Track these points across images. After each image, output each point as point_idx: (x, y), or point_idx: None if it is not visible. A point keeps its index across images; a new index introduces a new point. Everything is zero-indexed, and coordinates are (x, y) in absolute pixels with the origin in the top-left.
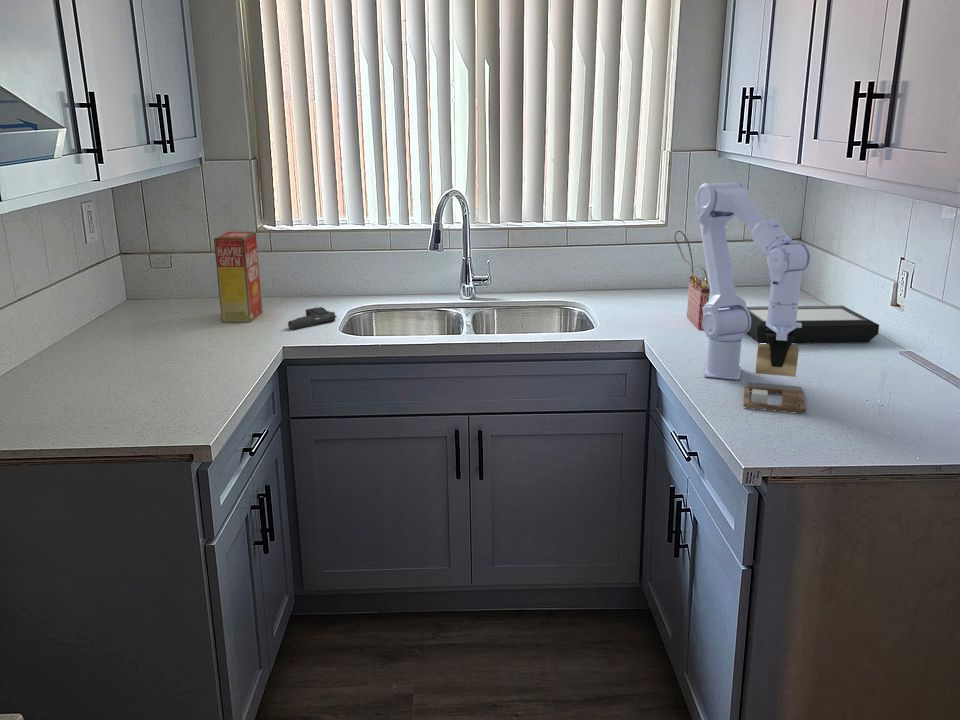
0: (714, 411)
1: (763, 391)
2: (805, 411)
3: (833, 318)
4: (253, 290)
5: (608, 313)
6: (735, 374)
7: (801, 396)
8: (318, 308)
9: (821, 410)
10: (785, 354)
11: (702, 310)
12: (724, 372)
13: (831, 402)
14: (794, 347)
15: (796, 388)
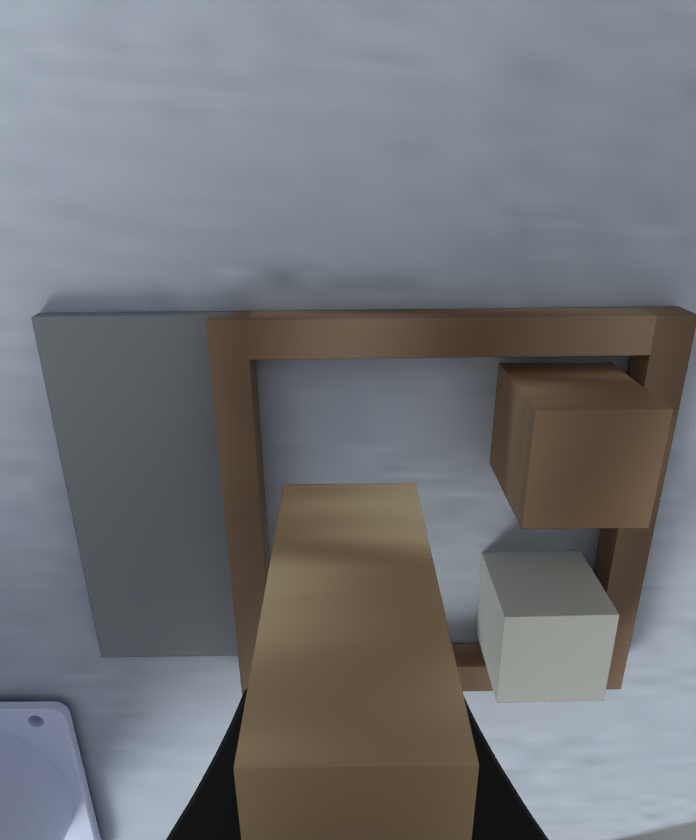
0: (679, 783)
1: (537, 640)
2: (689, 314)
3: None
4: None
5: None
6: (6, 738)
7: (367, 336)
8: None
9: (560, 170)
10: (540, 837)
11: None
12: (57, 810)
13: (323, 59)
14: (346, 817)
15: (100, 356)
